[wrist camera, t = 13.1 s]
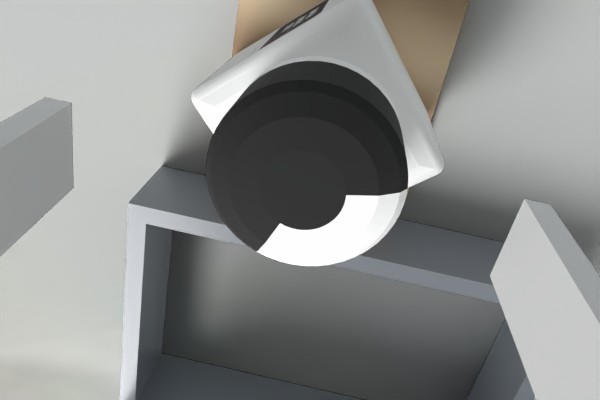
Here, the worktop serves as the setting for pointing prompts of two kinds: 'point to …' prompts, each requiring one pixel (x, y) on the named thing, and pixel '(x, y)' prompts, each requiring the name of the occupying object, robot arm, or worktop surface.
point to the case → (376, 261)
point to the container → (316, 136)
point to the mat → (399, 23)
